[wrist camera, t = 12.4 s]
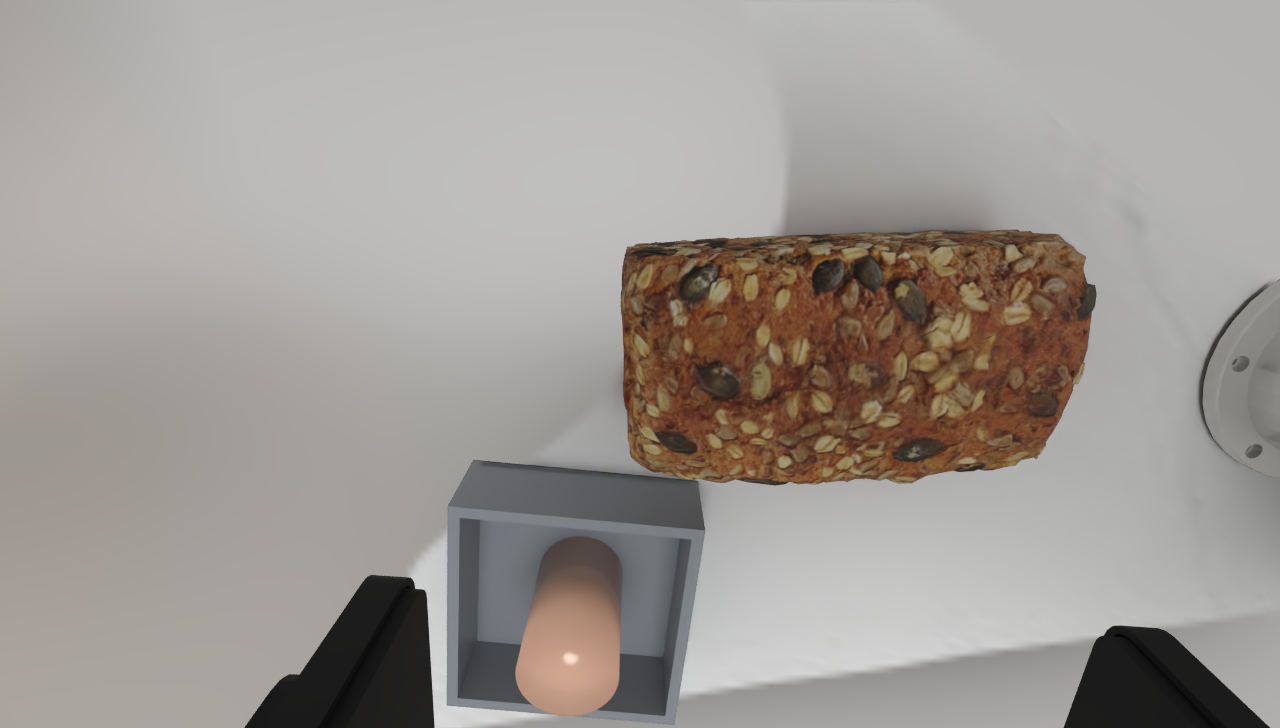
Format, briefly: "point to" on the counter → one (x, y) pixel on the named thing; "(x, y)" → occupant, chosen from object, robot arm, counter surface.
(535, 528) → the bin
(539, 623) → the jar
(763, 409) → the bread
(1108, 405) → the counter surface
